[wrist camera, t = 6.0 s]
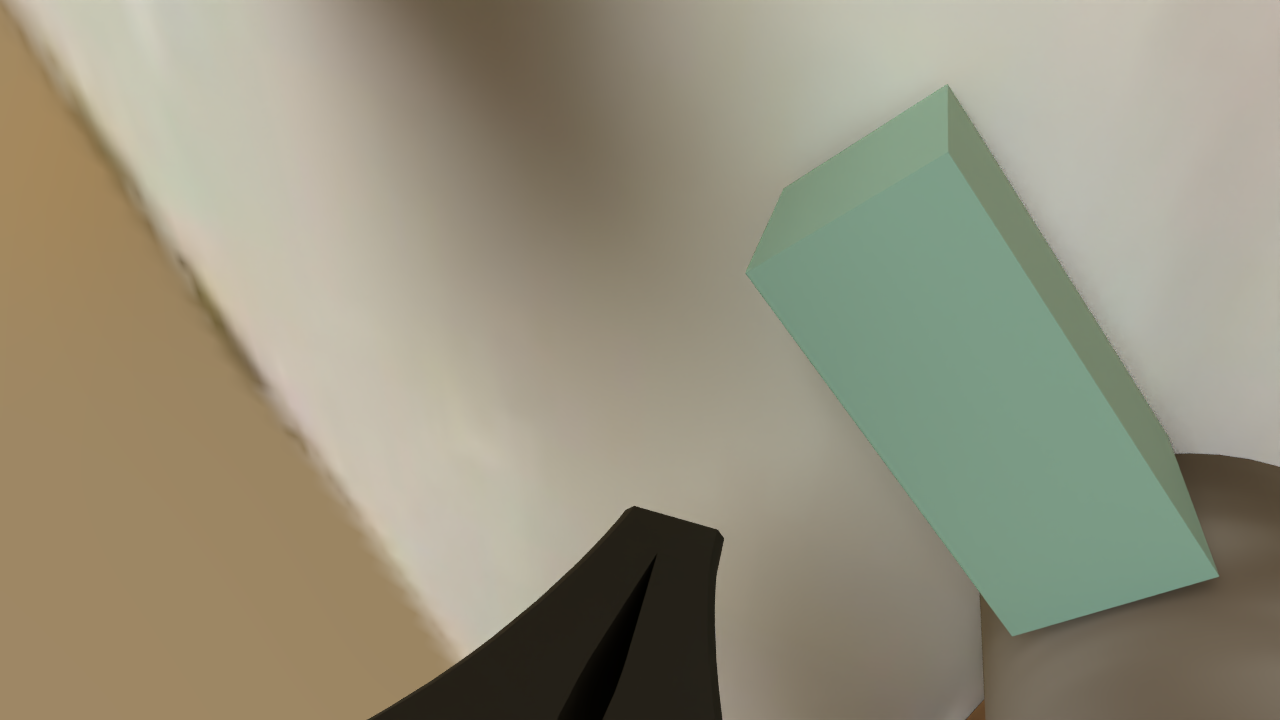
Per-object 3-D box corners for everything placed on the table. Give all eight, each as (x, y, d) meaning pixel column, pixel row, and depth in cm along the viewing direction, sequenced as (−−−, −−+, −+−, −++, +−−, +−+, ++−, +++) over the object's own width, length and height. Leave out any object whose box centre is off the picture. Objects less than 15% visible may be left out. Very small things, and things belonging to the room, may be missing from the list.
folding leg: (1167, 436, 15) (1219, 576, 12) (1000, 498, 17) (1012, 636, 14) (947, 83, 14) (948, 151, 11) (783, 188, 15) (745, 273, 12)
